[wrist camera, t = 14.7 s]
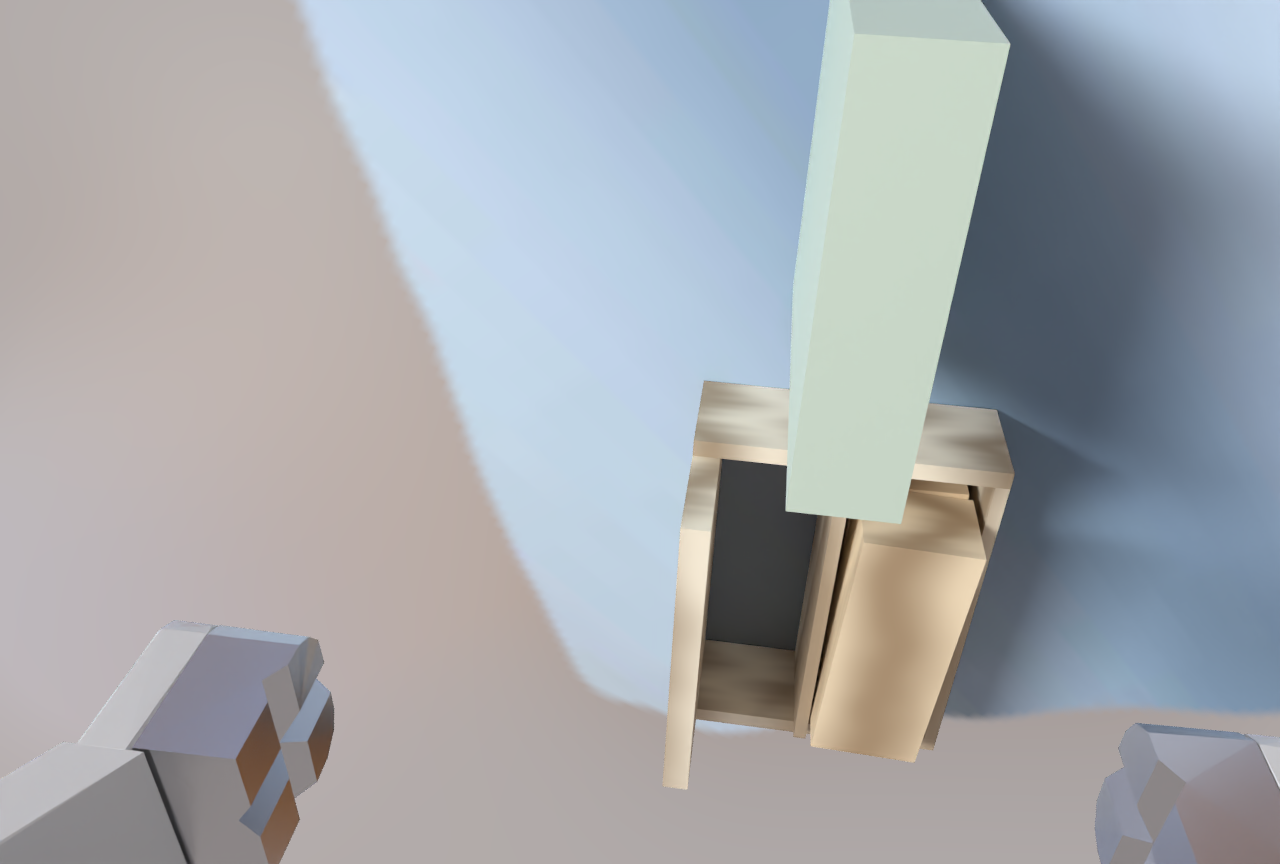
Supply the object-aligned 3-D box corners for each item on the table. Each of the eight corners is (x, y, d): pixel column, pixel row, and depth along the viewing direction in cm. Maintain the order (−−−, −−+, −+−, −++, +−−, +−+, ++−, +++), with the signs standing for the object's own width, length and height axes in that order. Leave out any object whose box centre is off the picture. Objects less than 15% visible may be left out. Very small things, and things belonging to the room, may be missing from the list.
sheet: (937, -63, 36) (1010, 43, 23) (874, 293, 44) (901, 524, 31) (838, -68, 36) (854, 33, 23) (793, 285, 44) (785, 511, 31)
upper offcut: (973, 500, 45) (986, 560, 41) (907, 698, 52) (914, 762, 49) (859, 484, 45) (863, 542, 42) (810, 683, 52) (810, 746, 49)
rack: (996, 409, 46) (1037, 552, 38) (923, 677, 56) (943, 836, 48) (704, 380, 48) (681, 512, 39) (683, 647, 57) (661, 796, 49)
